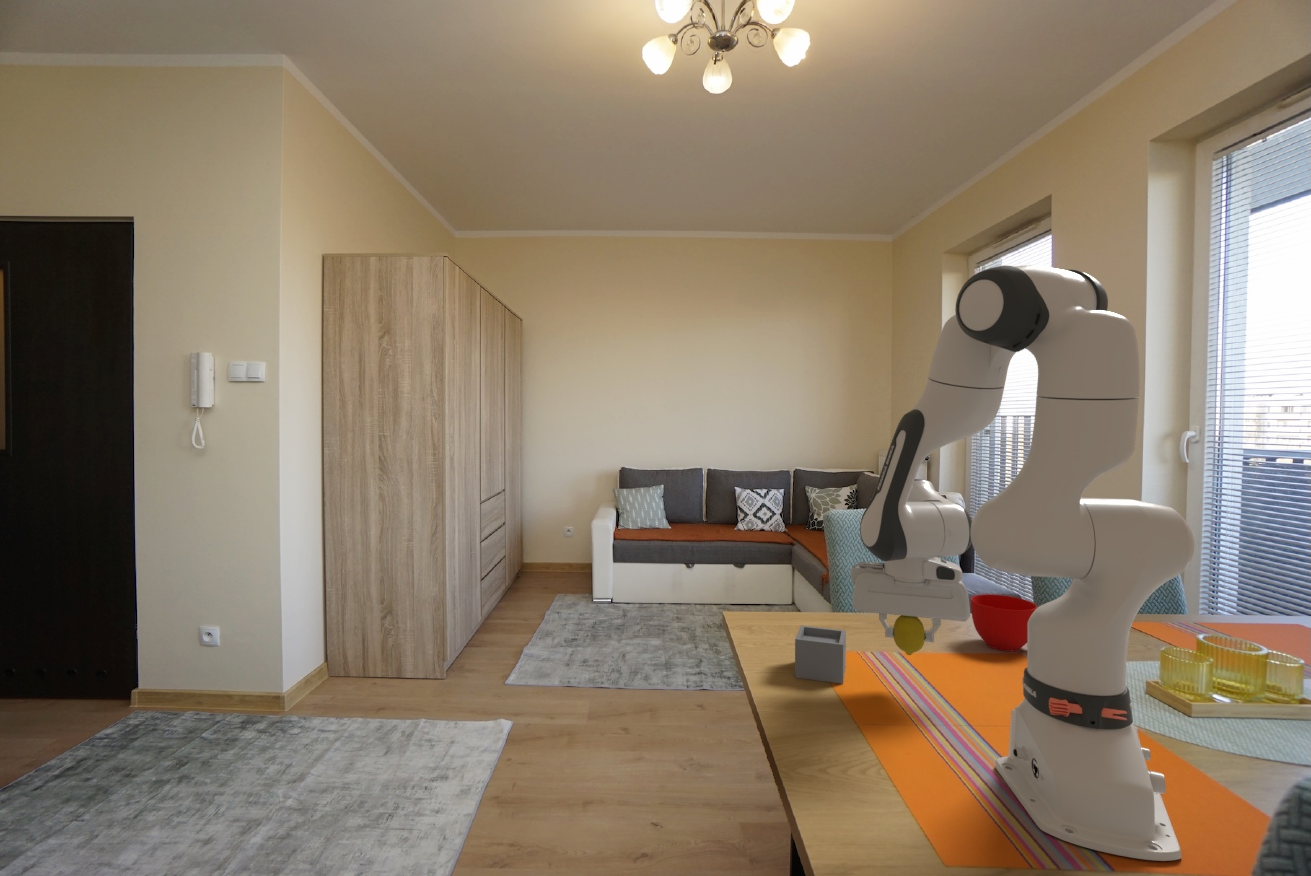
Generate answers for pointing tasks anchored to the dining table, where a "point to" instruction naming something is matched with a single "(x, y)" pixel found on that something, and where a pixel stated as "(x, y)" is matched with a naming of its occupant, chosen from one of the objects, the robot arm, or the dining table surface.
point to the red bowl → (1002, 620)
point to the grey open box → (820, 654)
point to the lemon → (909, 634)
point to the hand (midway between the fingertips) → (909, 639)
